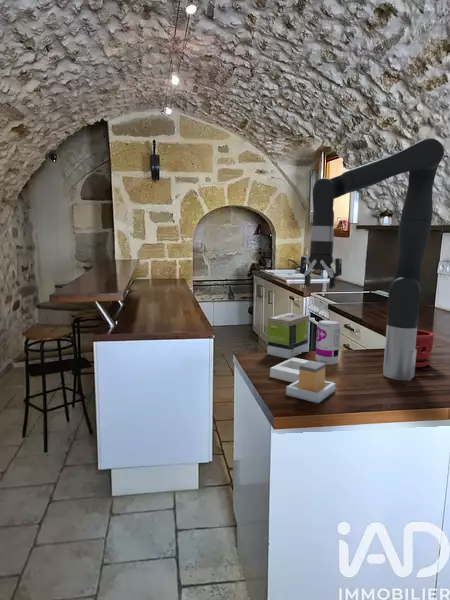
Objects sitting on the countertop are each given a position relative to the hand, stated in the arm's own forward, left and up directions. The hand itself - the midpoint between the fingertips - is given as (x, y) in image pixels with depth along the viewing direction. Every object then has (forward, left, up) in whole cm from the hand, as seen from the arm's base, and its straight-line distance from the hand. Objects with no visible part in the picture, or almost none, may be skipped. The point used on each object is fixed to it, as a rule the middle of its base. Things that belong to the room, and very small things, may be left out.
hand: (319, 287), depth 148 cm
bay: (+1, +12, -28) cm, 31 cm away
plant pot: (-26, -27, -28) cm, 47 cm away
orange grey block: (-10, +25, -28) cm, 39 cm away
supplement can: (-1, -8, -28) cm, 29 cm away
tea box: (+16, -10, -28) cm, 34 cm away
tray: (-10, +25, -28) cm, 39 cm away
